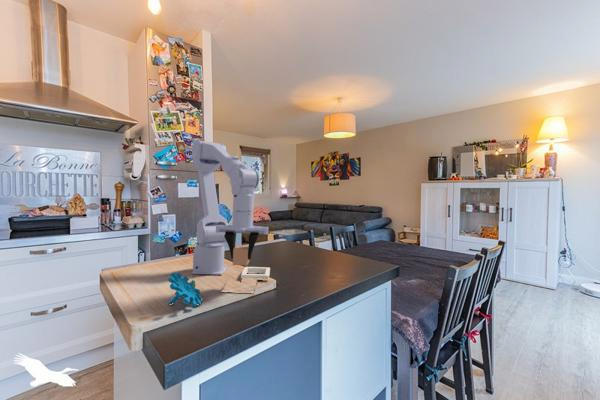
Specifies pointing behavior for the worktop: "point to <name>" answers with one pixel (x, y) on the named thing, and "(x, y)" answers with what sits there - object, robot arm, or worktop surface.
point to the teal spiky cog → (184, 289)
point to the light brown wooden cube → (240, 255)
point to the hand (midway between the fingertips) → (241, 258)
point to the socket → (262, 271)
